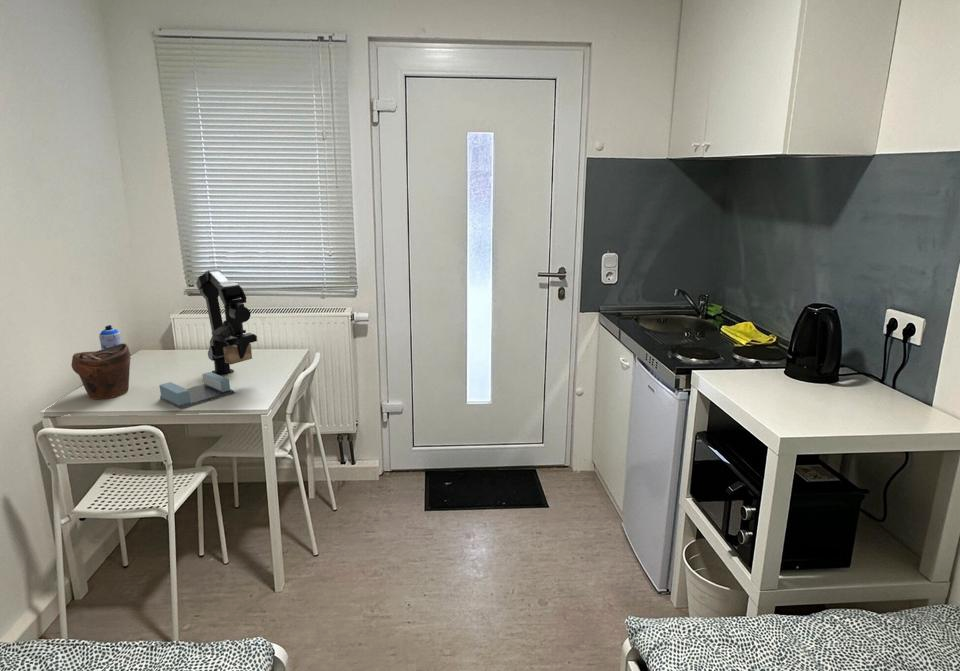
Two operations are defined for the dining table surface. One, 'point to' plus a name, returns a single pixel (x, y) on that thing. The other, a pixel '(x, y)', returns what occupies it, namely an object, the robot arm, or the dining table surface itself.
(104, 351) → the brown tapered container
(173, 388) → the block
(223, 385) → the moving jaw
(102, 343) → the aerosol can
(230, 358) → the walnut block
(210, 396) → the vise bed
